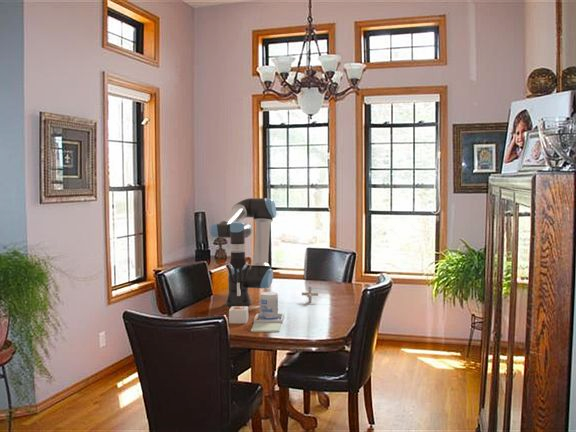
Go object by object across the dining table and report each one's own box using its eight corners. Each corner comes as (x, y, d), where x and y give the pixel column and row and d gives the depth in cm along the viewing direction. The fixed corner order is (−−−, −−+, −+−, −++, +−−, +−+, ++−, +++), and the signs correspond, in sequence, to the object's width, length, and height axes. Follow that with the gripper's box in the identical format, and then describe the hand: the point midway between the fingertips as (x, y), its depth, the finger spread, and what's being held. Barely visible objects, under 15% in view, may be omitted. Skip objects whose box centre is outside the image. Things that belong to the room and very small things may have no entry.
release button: (235, 315, 307) (235, 306, 306) (243, 315, 306) (243, 306, 306) (233, 317, 302) (233, 308, 302) (242, 317, 302) (242, 308, 301)
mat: (254, 324, 297) (254, 323, 297) (281, 324, 296) (281, 323, 296) (250, 331, 283) (250, 330, 283) (279, 332, 282) (279, 330, 282)
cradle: (256, 317, 313) (256, 313, 313) (284, 317, 312) (284, 313, 312) (253, 323, 298) (253, 320, 298) (282, 324, 298) (282, 320, 297)
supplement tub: (259, 322, 301) (259, 295, 300) (260, 318, 310) (260, 291, 309) (278, 322, 301) (277, 295, 300) (278, 318, 310) (278, 291, 309)
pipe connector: (316, 304, 343) (316, 287, 342) (300, 303, 345) (300, 287, 344) (319, 300, 353) (319, 284, 352) (303, 300, 355) (303, 284, 354)
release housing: (231, 319, 309) (231, 306, 309) (248, 319, 309) (248, 306, 308) (229, 323, 300) (228, 310, 300) (246, 323, 300) (246, 310, 299)
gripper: (224, 252, 299) (225, 297, 301) (249, 252, 298) (250, 297, 300) (226, 250, 306) (227, 293, 308) (250, 250, 305) (251, 293, 307)
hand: (238, 295), depth 304 cm, fingers closed
